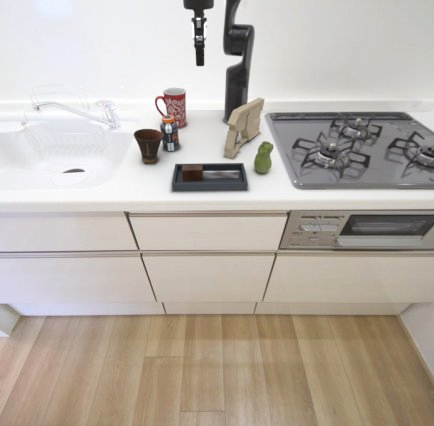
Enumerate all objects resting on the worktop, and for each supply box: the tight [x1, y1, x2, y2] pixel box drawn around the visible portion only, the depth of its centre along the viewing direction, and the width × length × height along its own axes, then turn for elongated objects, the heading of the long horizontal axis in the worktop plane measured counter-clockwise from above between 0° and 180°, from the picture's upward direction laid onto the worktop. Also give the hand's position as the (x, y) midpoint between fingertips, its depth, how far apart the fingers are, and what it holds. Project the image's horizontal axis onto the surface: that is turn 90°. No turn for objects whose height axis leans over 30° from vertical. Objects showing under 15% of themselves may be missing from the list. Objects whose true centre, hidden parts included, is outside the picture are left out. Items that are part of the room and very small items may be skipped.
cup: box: [133, 128, 163, 164], centre depth 78 cm, size 9×9×10 cm
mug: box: [154, 86, 187, 129], centre depth 97 cm, size 13×9×14 cm
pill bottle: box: [159, 114, 180, 152], centre depth 83 cm, size 6×6×11 cm
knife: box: [182, 165, 239, 181], centre depth 71 cm, size 17×3×4 cm, turn 91°
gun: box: [223, 97, 265, 159], centre depth 84 cm, size 24×3×15 cm, turn 148°
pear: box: [253, 140, 274, 174], centre depth 72 cm, size 6×5×10 cm
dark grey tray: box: [171, 162, 249, 192], centre depth 72 cm, size 22×11×3 cm, turn 91°
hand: (200, 61), depth 67 cm, fingers open, 8 cm apart
